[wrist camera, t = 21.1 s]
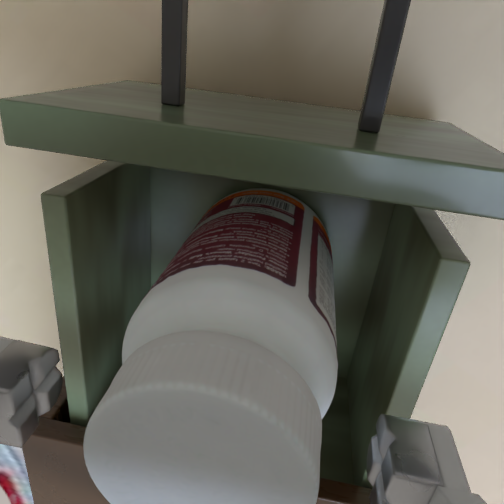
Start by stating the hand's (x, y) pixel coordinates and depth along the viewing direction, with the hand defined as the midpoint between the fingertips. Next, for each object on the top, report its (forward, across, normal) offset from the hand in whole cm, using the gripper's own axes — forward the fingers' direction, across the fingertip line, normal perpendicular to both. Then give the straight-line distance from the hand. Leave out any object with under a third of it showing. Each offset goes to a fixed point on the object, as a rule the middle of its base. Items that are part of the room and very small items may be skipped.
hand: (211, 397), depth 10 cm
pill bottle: (+10, 0, 0) cm, 10 cm away
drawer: (+10, 0, -2) cm, 11 cm away
